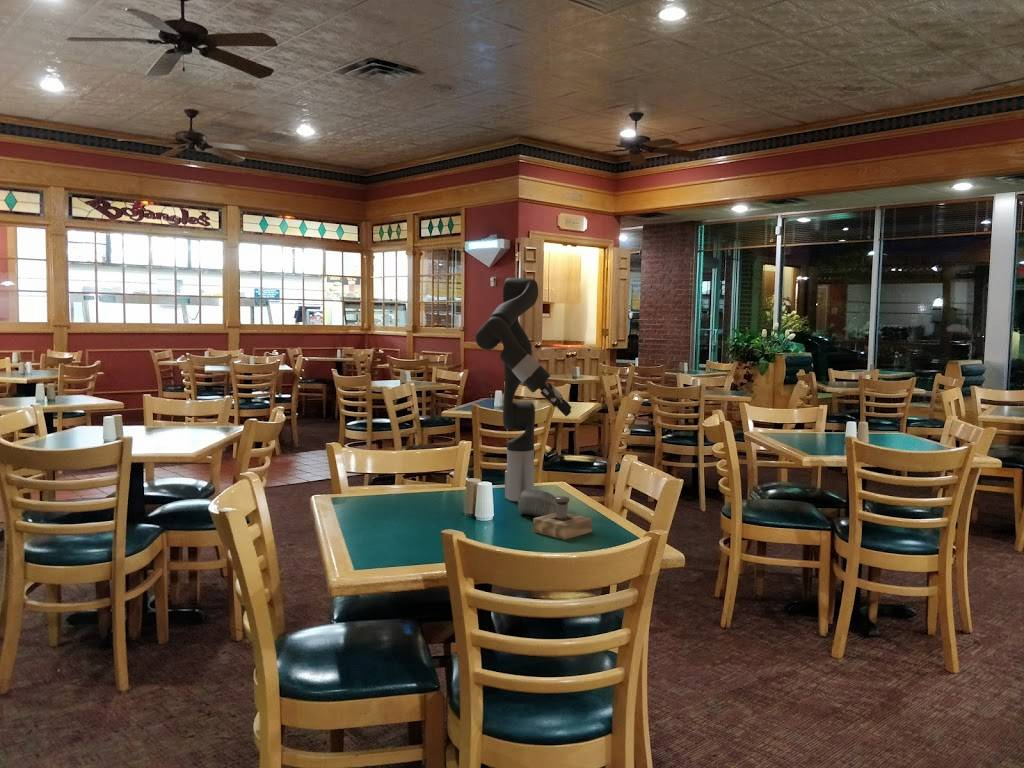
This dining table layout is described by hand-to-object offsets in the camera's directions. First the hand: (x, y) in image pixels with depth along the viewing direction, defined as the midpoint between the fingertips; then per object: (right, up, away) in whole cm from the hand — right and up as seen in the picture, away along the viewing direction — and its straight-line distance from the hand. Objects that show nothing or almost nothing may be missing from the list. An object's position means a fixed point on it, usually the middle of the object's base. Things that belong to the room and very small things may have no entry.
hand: (569, 412), depth 243 cm
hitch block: (-2, -35, -4) cm, 35 cm away
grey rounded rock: (-9, -33, +15) cm, 38 cm away
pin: (-3, -35, -4) cm, 35 cm away
